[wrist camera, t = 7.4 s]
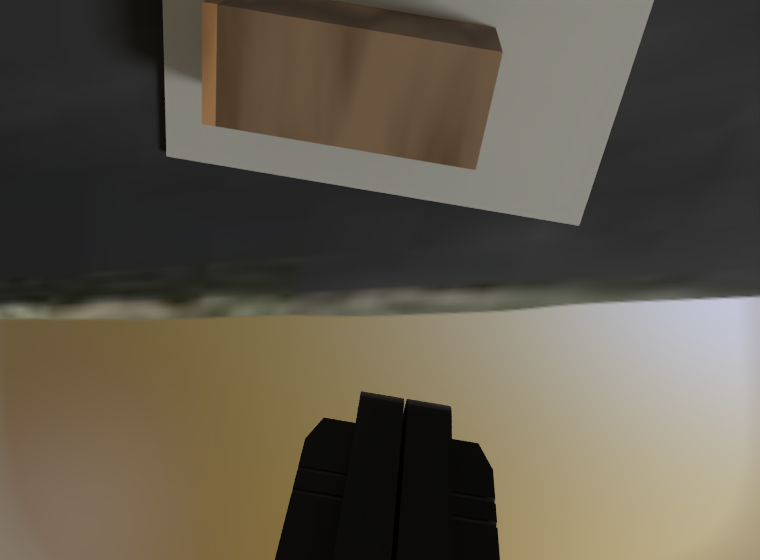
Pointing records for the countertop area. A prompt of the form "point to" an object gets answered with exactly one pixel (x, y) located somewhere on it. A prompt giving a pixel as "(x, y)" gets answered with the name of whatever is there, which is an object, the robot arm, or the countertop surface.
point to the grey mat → (505, 119)
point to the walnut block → (350, 77)
